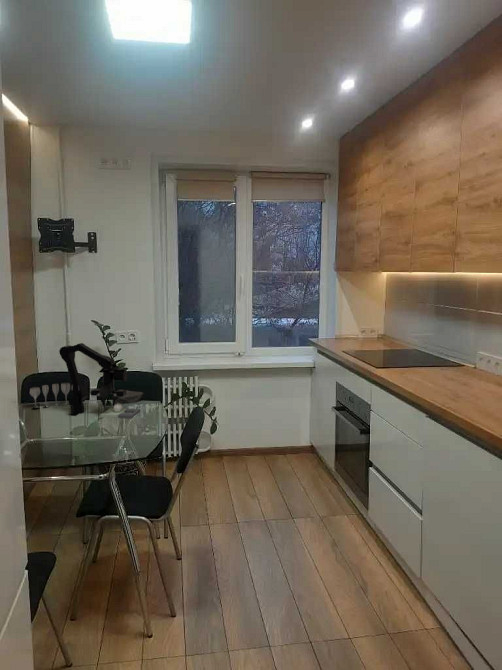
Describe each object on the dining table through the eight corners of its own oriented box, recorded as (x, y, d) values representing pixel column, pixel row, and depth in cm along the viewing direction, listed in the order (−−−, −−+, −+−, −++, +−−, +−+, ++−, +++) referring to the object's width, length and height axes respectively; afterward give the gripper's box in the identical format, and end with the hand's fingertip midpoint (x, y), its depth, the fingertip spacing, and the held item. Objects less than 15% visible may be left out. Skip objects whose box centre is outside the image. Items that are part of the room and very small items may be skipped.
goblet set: (79, 402, 306) (78, 381, 304) (80, 404, 300) (80, 382, 299) (30, 407, 293) (29, 385, 292) (30, 409, 288) (29, 387, 287)
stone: (117, 402, 290) (114, 387, 295) (113, 408, 296) (111, 393, 301) (147, 400, 300) (144, 385, 305) (142, 406, 306) (139, 392, 311)
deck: (100, 417, 271) (100, 414, 271) (110, 410, 285) (110, 408, 285) (132, 418, 269) (131, 415, 269) (140, 411, 283) (140, 409, 283)
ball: (110, 410, 275) (113, 402, 274) (114, 408, 280) (117, 400, 279) (118, 414, 275) (121, 406, 274) (122, 412, 280) (125, 404, 279)
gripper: (86, 382, 269) (86, 410, 271) (119, 383, 267) (119, 412, 269) (94, 378, 280) (95, 405, 282) (126, 379, 278) (127, 406, 280)
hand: (109, 407), depth 278 cm, fingers open, 5 cm apart
